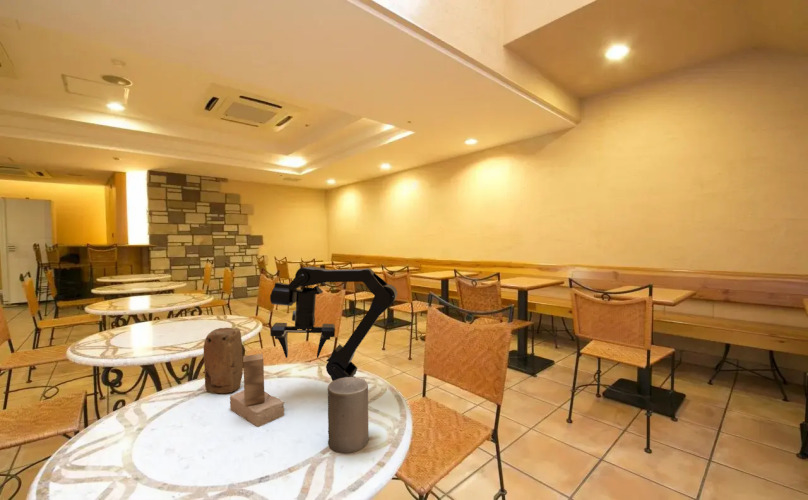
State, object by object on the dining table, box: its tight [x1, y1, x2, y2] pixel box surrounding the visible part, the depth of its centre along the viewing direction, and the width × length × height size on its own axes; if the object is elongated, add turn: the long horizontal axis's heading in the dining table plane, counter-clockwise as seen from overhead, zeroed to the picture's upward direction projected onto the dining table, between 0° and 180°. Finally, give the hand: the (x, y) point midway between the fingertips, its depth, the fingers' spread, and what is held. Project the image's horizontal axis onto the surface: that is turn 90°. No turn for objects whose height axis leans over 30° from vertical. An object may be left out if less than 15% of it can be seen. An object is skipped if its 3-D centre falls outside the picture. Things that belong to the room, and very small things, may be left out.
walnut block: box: [242, 353, 265, 406], centre depth 94 cm, size 5×5×12 cm
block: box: [203, 327, 244, 394], centre depth 111 cm, size 11×8×20 cm
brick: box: [229, 389, 285, 427], centre depth 96 cm, size 17×8×5 cm, turn 51°
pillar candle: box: [327, 376, 369, 454], centre depth 80 cm, size 10×10×15 cm
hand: (302, 357), depth 104 cm, fingers open, 9 cm apart
